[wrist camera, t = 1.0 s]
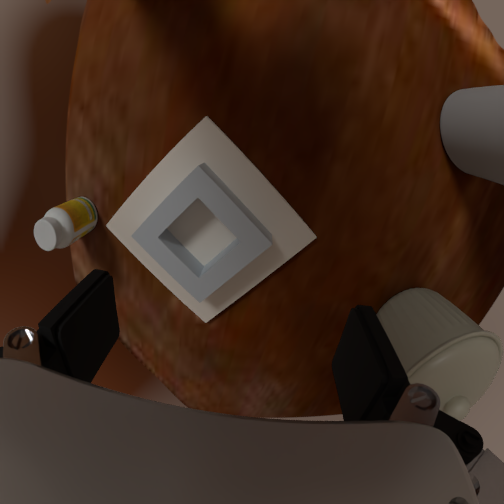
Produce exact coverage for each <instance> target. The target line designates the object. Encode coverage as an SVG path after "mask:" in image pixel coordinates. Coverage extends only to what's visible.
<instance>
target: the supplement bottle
mask: <svg viewBox="0 0 504 504" xmlns="http://www.w3.org/2000/svg"><path fill="white" fill-rule="evenodd" d="M96 223H97V211H96V208H95V206H94V204H93V203H92V202H91V201H90V200H89V199H87V198H85V197H78V198H75V199H73V200H70V201H68V202H66V203H63V204H61V205H58V206H56V207H54V208H52V209H50V210H49V211H48V212H47V213H46V214H45V216H44V218H42V219H41V220H39V221H38V222H37V223H36V224H35V227H34V236H35V239H36V242H37V243H38V245H39V246H40V247H41V248H42V249H44V250H46V251H51V250H53V249H54V248H65V247H67V246H68V245H70V244H72V243H73V242H75V241H76V240H78V239H79V238H81V237H82V236H84V235H86V234H87V233H89V232H90V231H91V230H93V229H94V227H95V226H96Z"/></svg>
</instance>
